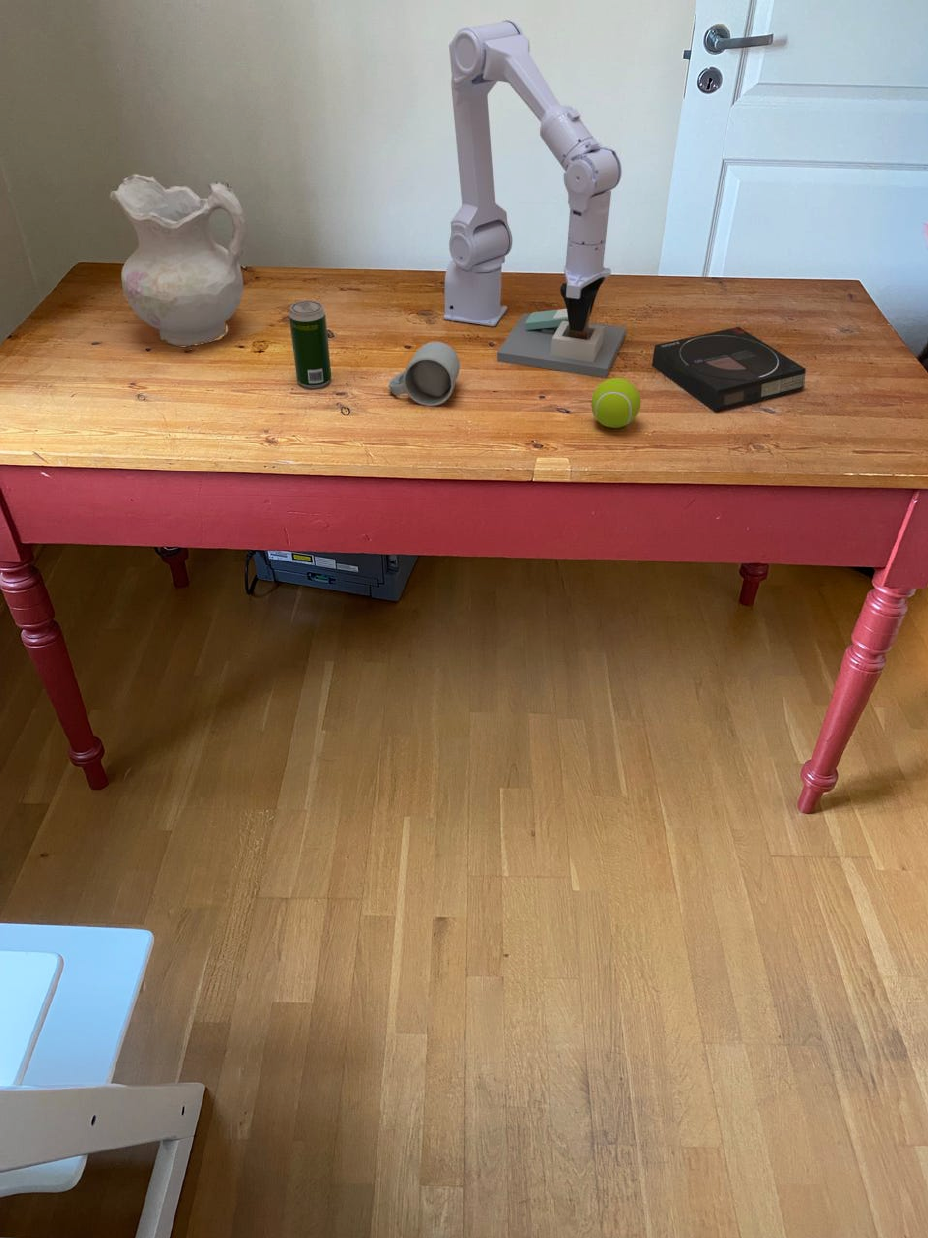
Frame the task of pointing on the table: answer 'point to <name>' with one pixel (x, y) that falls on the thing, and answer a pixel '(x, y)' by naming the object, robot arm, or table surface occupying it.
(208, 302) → the ceramic pitcher
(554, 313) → the block
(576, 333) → the dowel
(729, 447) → the table surface
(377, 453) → the table surface
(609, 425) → the tennis ball
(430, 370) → the ceramic mug
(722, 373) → the portable cd player
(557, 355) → the panel
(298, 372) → the beer can
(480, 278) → the robot arm
